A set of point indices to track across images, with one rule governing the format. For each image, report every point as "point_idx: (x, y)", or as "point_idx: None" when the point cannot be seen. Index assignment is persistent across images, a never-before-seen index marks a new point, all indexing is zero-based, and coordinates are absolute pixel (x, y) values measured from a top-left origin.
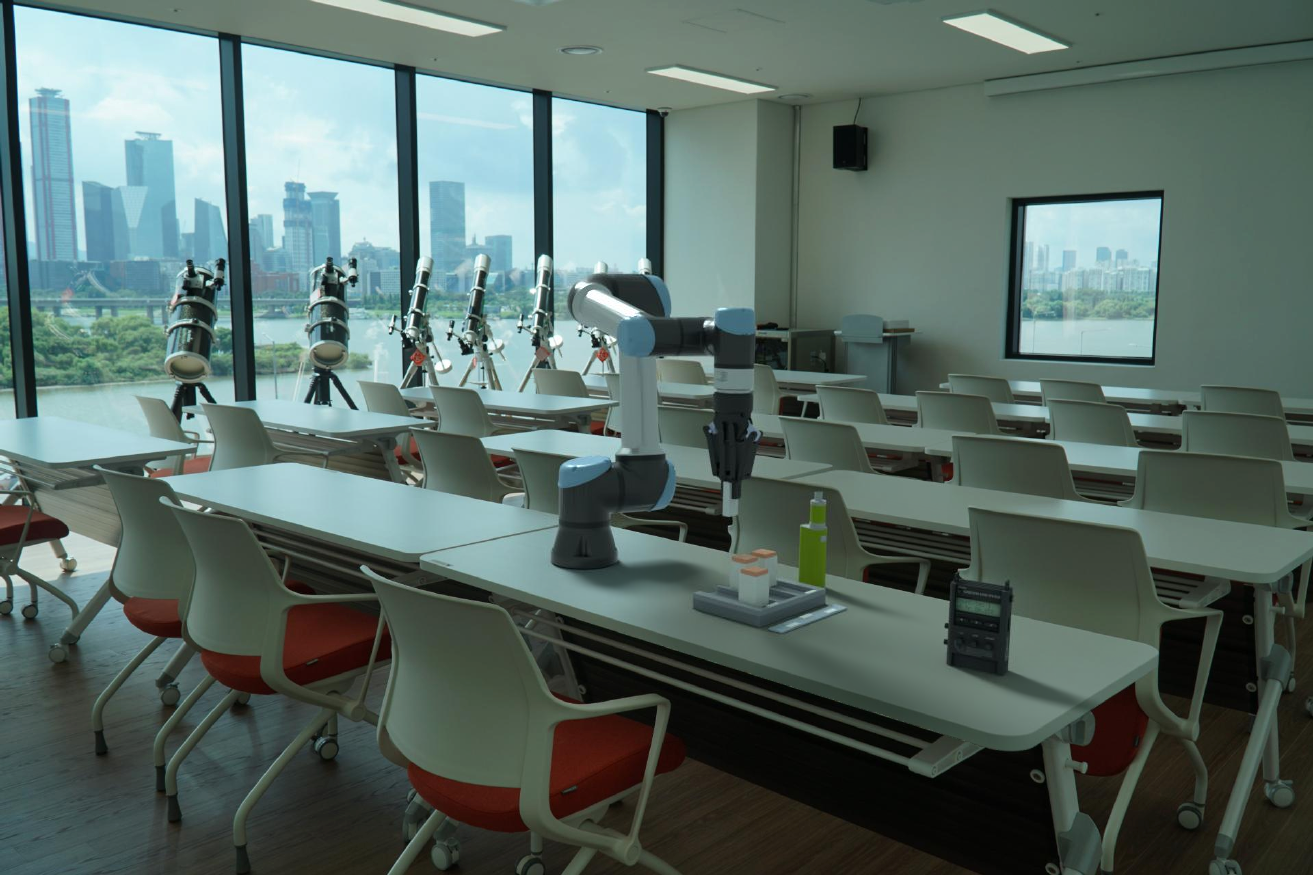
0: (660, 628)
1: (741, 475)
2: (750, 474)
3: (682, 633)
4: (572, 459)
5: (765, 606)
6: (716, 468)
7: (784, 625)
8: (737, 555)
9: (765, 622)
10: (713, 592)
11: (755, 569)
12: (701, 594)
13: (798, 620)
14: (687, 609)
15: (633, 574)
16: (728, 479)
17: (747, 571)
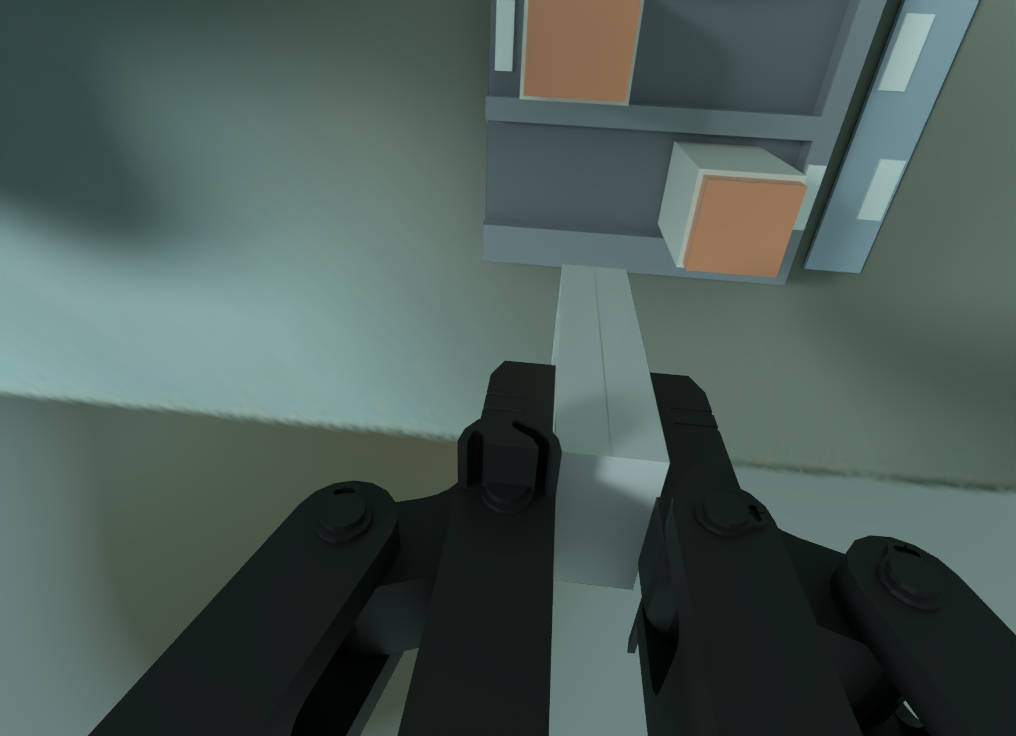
0: None
1: (862, 729)
2: (990, 635)
3: None
4: None
5: None
6: (371, 711)
7: (847, 211)
8: (531, 43)
9: None
10: (491, 143)
11: (751, 234)
12: (513, 255)
13: (884, 124)
14: (484, 261)
15: (19, 32)
16: (632, 642)
17: (724, 271)
